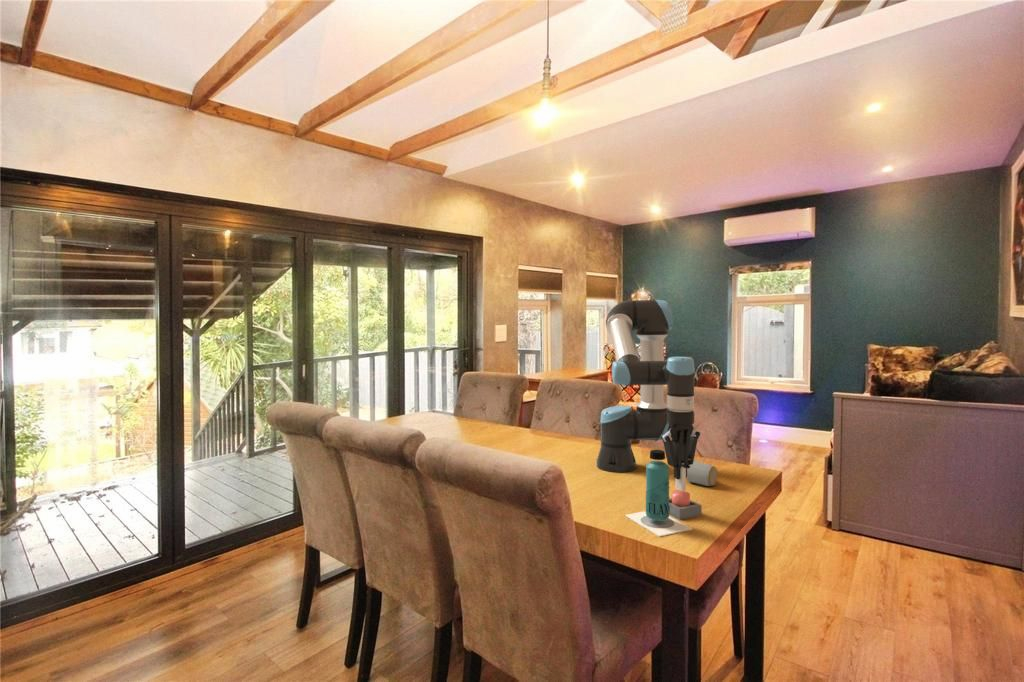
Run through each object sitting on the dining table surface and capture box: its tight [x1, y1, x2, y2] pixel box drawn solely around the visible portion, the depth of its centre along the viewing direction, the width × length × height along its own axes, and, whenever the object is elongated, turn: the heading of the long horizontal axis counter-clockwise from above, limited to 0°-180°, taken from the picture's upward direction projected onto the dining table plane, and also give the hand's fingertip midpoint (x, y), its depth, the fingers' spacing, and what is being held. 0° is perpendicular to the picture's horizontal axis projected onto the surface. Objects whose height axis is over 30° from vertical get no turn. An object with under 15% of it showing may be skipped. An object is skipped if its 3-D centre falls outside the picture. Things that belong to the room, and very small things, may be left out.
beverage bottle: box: [645, 449, 671, 521], centre depth 133 cm, size 6×7×20 cm
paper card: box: [624, 510, 693, 538], centre depth 133 cm, size 15×11×1 cm
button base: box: [669, 497, 703, 521], centre depth 140 cm, size 8×8×3 cm
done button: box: [671, 489, 691, 507], centre depth 140 cm, size 5×5×5 cm
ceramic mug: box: [686, 459, 718, 487], centre depth 165 cm, size 11×8×8 cm
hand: (680, 489), depth 140 cm, fingers closed
